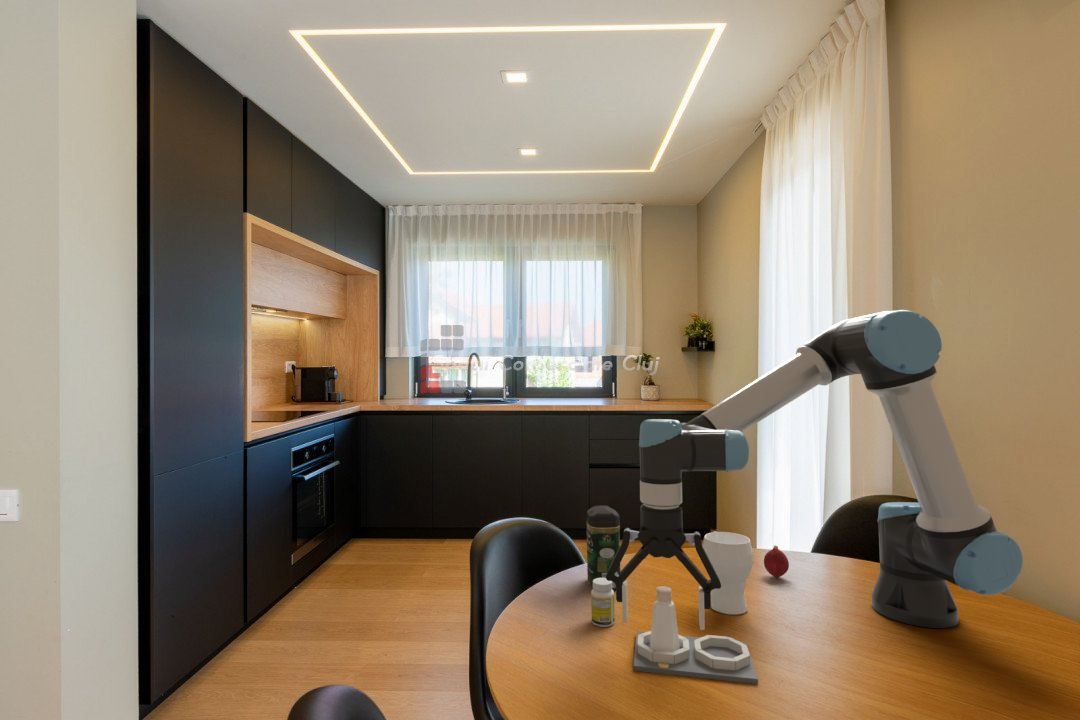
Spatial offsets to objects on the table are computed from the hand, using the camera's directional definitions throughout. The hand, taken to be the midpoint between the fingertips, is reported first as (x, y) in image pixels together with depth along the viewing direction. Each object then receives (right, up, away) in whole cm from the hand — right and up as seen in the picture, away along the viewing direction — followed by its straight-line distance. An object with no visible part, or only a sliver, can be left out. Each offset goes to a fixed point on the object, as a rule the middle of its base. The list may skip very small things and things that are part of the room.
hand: (662, 623), depth 98 cm
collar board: (+5, -5, -1) cm, 7 cm away
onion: (+37, -7, +38) cm, 53 cm away
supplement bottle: (-9, -6, +13) cm, 17 cm away
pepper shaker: (0, -5, 0) cm, 5 cm away
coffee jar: (-7, -7, +34) cm, 35 cm away
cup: (+19, -7, +20) cm, 28 cm away
